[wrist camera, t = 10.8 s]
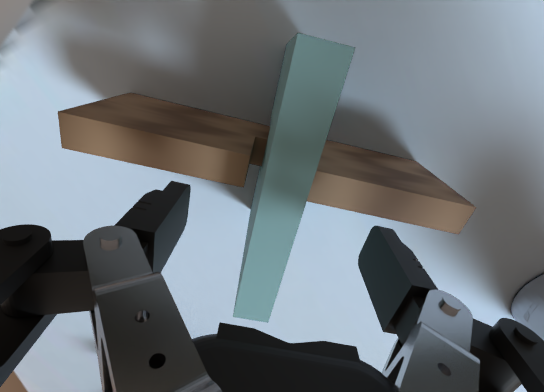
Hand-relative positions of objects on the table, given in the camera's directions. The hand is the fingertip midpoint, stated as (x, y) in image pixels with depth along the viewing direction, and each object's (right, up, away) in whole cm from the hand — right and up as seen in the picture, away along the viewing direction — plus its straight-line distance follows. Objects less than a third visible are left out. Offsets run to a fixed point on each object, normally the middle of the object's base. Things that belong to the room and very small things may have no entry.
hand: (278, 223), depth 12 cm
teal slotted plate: (0, +6, +11) cm, 13 cm away
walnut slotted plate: (0, +6, +11) cm, 13 cm away
